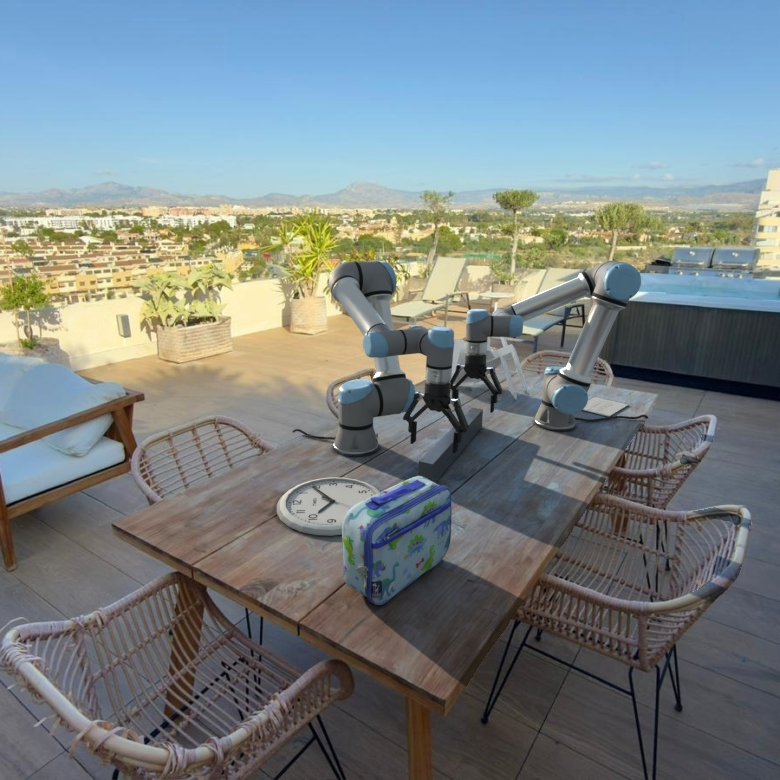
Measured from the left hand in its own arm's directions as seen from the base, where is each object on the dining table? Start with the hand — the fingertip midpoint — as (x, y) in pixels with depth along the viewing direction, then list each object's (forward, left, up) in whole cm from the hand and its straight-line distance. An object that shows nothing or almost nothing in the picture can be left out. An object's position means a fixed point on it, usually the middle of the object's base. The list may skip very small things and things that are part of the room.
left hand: (433, 446), depth 159 cm
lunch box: (+26, -44, -9) cm, 52 cm away
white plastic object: (-37, +82, -9) cm, 90 cm away
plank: (-6, +19, -9) cm, 22 cm away
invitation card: (+12, +103, -9) cm, 104 cm away
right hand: (-11, +38, 0) cm, 40 cm away
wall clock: (-8, -34, -9) cm, 36 cm away
